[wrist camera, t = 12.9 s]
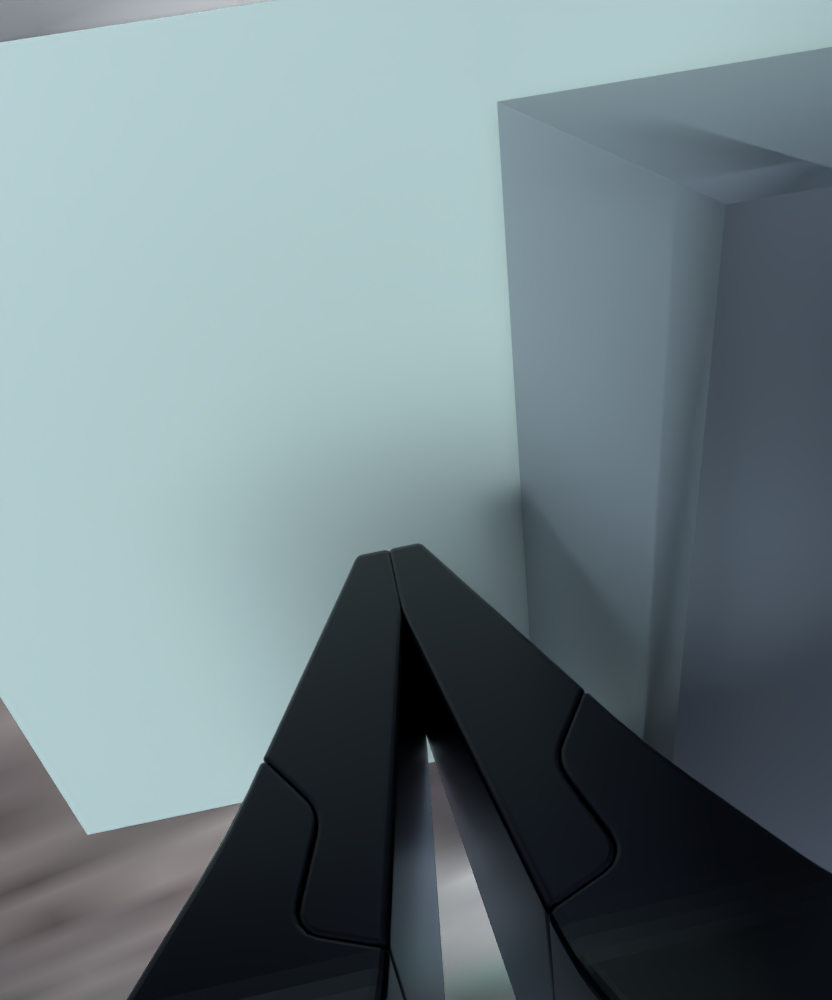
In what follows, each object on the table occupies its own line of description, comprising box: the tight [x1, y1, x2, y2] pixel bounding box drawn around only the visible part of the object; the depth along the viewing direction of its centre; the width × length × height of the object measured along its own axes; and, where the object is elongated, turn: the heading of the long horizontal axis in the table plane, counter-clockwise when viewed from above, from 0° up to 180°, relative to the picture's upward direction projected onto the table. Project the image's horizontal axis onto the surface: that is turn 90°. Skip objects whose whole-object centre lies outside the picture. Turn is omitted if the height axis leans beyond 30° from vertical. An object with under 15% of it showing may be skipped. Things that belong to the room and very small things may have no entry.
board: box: [0, 0, 832, 835], centre depth 10 cm, size 12×22×4 cm, turn 97°
